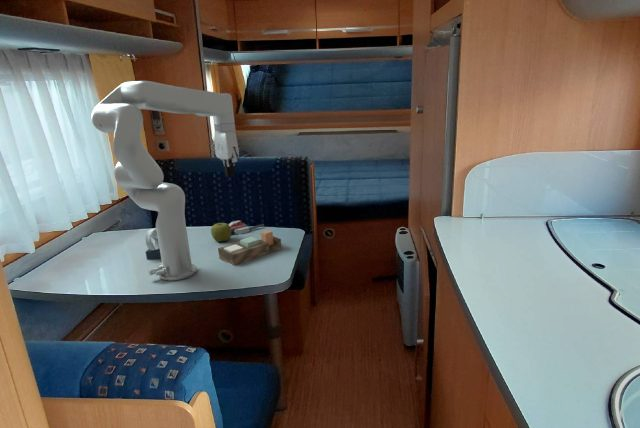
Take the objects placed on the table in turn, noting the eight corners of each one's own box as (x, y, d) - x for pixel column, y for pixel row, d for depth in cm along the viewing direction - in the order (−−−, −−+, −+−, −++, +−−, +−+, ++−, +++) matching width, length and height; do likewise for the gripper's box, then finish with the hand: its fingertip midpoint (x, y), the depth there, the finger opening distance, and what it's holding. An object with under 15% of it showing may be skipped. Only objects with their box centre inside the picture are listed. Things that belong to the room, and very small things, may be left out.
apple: (213, 238, 194) (211, 222, 191) (233, 237, 194) (231, 220, 192) (211, 245, 186) (209, 228, 184) (231, 243, 187) (229, 226, 185)
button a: (232, 259, 167) (231, 251, 166) (224, 255, 171) (223, 248, 170) (244, 255, 170) (243, 247, 169) (236, 251, 174) (235, 244, 173)
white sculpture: (168, 253, 181) (163, 225, 177) (158, 261, 173) (154, 233, 170) (154, 253, 181) (149, 226, 178) (144, 261, 174) (139, 233, 170)
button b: (248, 250, 171) (247, 243, 170) (240, 247, 175) (240, 240, 174) (259, 247, 174) (258, 239, 173) (252, 243, 178) (251, 236, 177)
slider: (266, 246, 175) (265, 233, 174) (262, 244, 177) (260, 232, 176) (273, 244, 177) (272, 231, 176) (268, 242, 179) (267, 229, 178)
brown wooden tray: (233, 265, 165) (232, 255, 164) (219, 258, 172) (218, 248, 171) (281, 248, 178) (280, 239, 177) (266, 242, 185) (265, 233, 184)
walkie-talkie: (223, 239, 193) (265, 228, 204) (222, 229, 191) (264, 218, 202) (214, 234, 199) (255, 223, 211) (213, 224, 198) (255, 214, 209)
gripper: (205, 128, 177) (211, 175, 182) (226, 130, 166) (232, 180, 171) (223, 125, 182) (228, 172, 187) (244, 127, 171) (249, 177, 176)
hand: (230, 176), depth 179 cm, fingers closed
